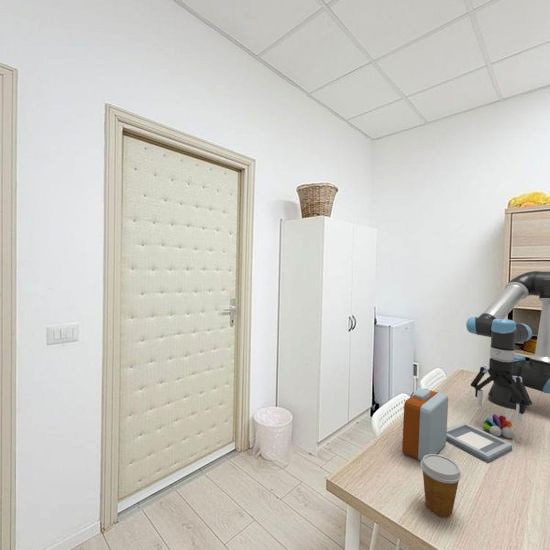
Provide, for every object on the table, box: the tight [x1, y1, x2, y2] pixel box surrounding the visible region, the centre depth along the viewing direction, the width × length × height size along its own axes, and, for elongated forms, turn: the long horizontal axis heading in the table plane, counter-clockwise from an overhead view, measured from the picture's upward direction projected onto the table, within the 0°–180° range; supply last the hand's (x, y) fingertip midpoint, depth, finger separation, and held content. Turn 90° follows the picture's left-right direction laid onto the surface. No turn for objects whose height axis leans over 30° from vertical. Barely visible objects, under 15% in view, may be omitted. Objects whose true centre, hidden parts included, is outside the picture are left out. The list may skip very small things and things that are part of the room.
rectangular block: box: [401, 387, 449, 462], centre depth 109 cm, size 18×9×21 cm, turn 135°
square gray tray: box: [446, 421, 513, 464], centre depth 113 cm, size 16×17×2 cm
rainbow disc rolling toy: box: [482, 413, 514, 439], centre depth 121 cm, size 8×10×7 cm
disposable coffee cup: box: [420, 454, 462, 518], centre depth 82 cm, size 10×10×12 cm
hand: (497, 413), depth 121 cm, fingers open, 13 cm apart
